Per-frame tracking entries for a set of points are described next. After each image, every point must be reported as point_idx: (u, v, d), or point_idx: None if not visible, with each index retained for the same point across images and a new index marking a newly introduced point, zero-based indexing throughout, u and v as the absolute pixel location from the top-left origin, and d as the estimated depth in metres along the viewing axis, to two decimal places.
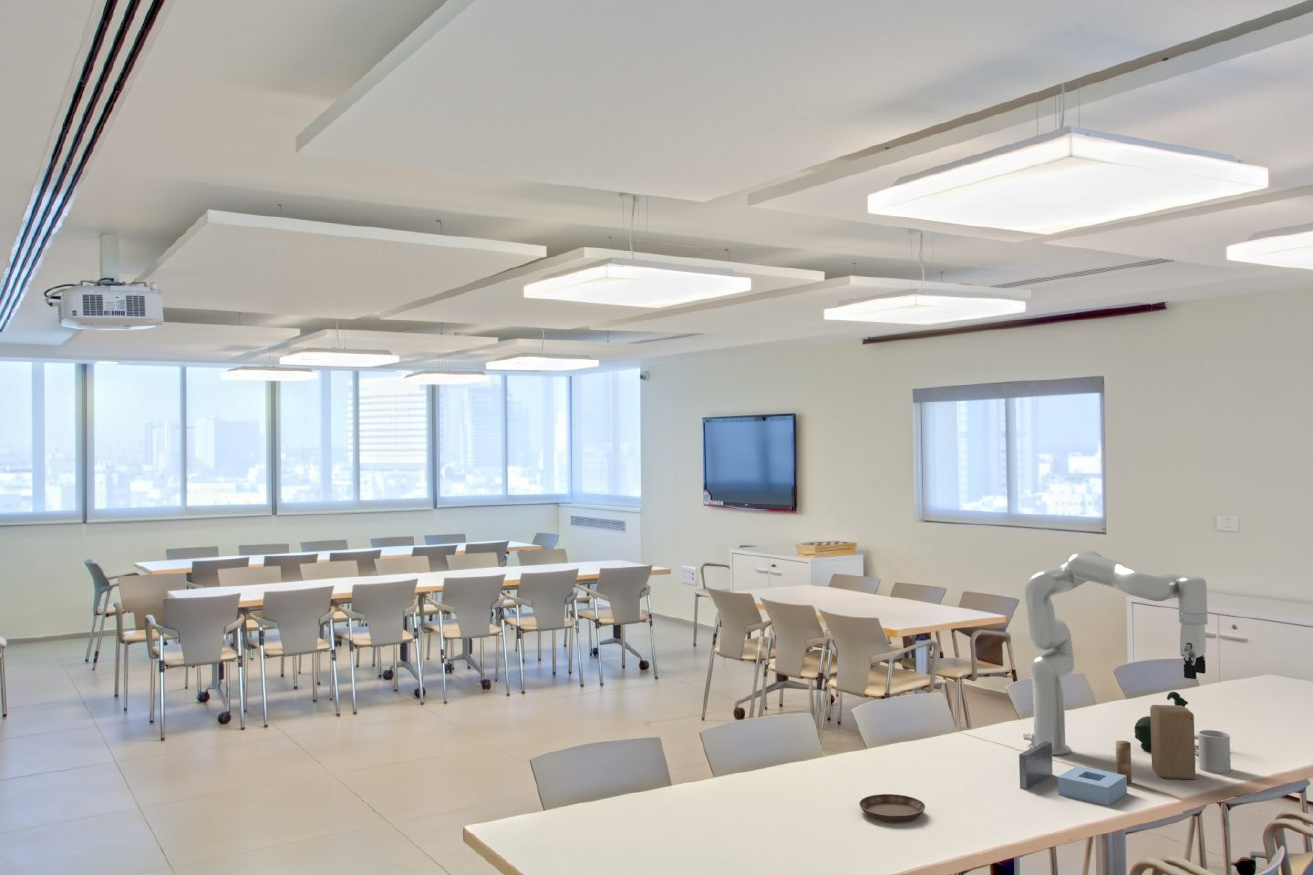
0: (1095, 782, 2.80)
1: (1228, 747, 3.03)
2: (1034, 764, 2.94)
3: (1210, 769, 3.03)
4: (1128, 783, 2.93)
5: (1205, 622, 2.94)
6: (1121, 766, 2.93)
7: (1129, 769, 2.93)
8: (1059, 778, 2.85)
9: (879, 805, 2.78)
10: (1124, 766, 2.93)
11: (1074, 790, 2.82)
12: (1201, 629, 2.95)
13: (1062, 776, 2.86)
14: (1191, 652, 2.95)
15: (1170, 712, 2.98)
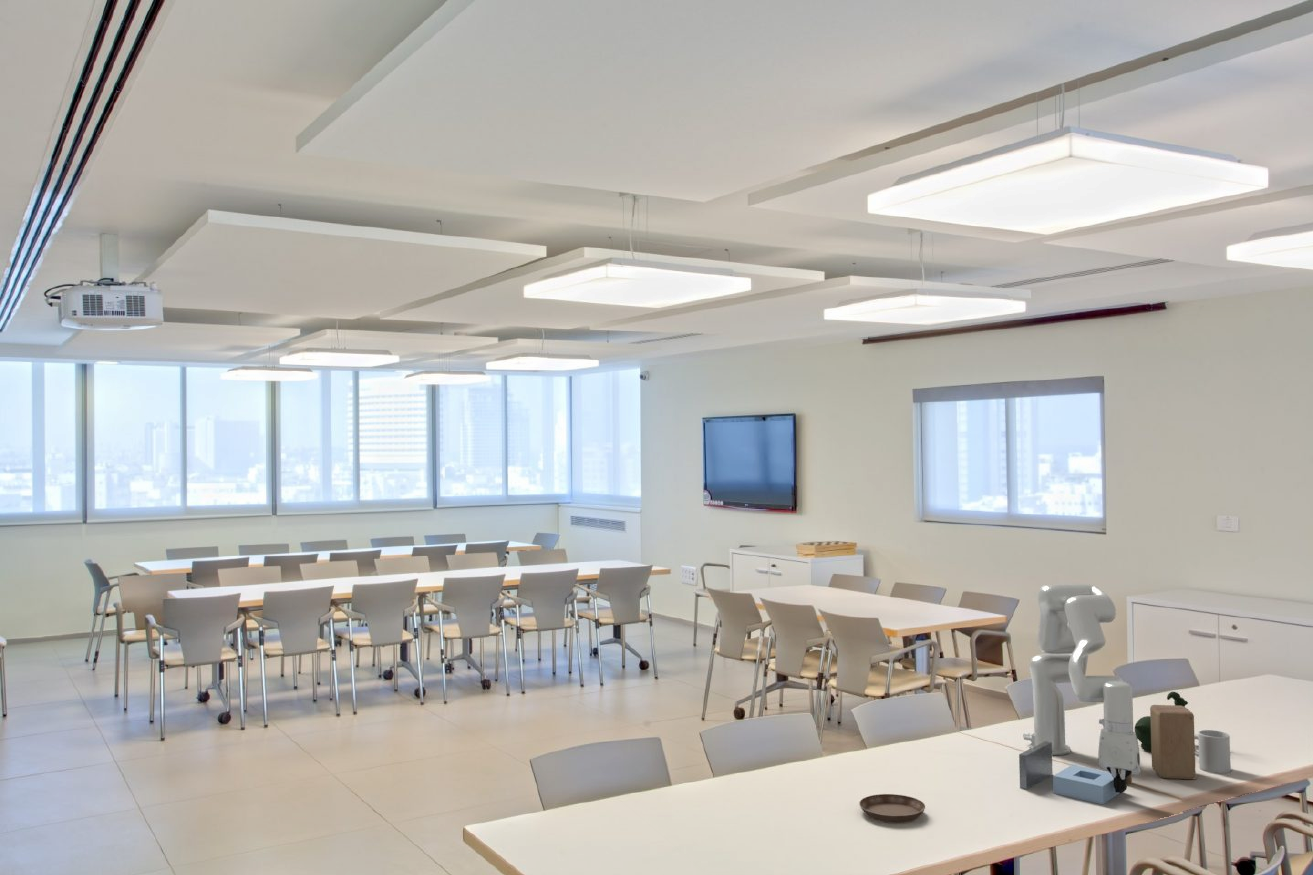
0: (1090, 781, 2.81)
1: (1228, 747, 3.03)
2: (1034, 764, 2.94)
3: (1210, 769, 3.03)
4: (1128, 783, 2.93)
5: None
6: None
7: None
8: (1054, 777, 2.86)
9: (879, 805, 2.78)
10: None
11: (1069, 789, 2.83)
12: None
13: (1057, 775, 2.87)
14: None
15: (1170, 712, 2.98)
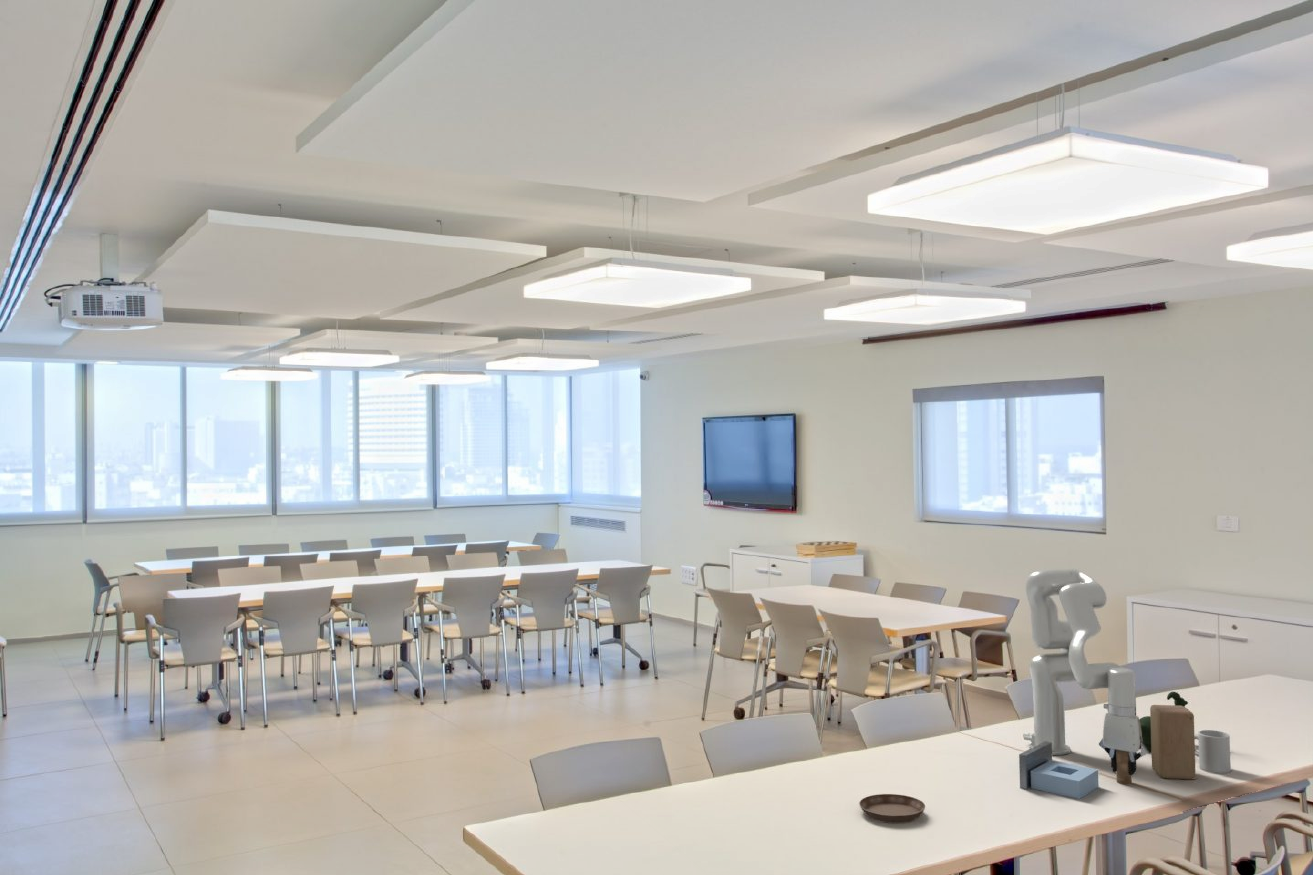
0: (1066, 776, 2.85)
1: (1228, 747, 3.03)
2: (1034, 764, 2.94)
3: (1210, 769, 3.03)
4: (1128, 783, 2.93)
5: None
6: (1121, 766, 2.93)
7: None
8: (1032, 772, 2.91)
9: (879, 805, 2.78)
10: (1124, 766, 2.93)
11: (1046, 784, 2.88)
12: None
13: (1035, 770, 2.91)
14: None
15: (1170, 712, 2.98)
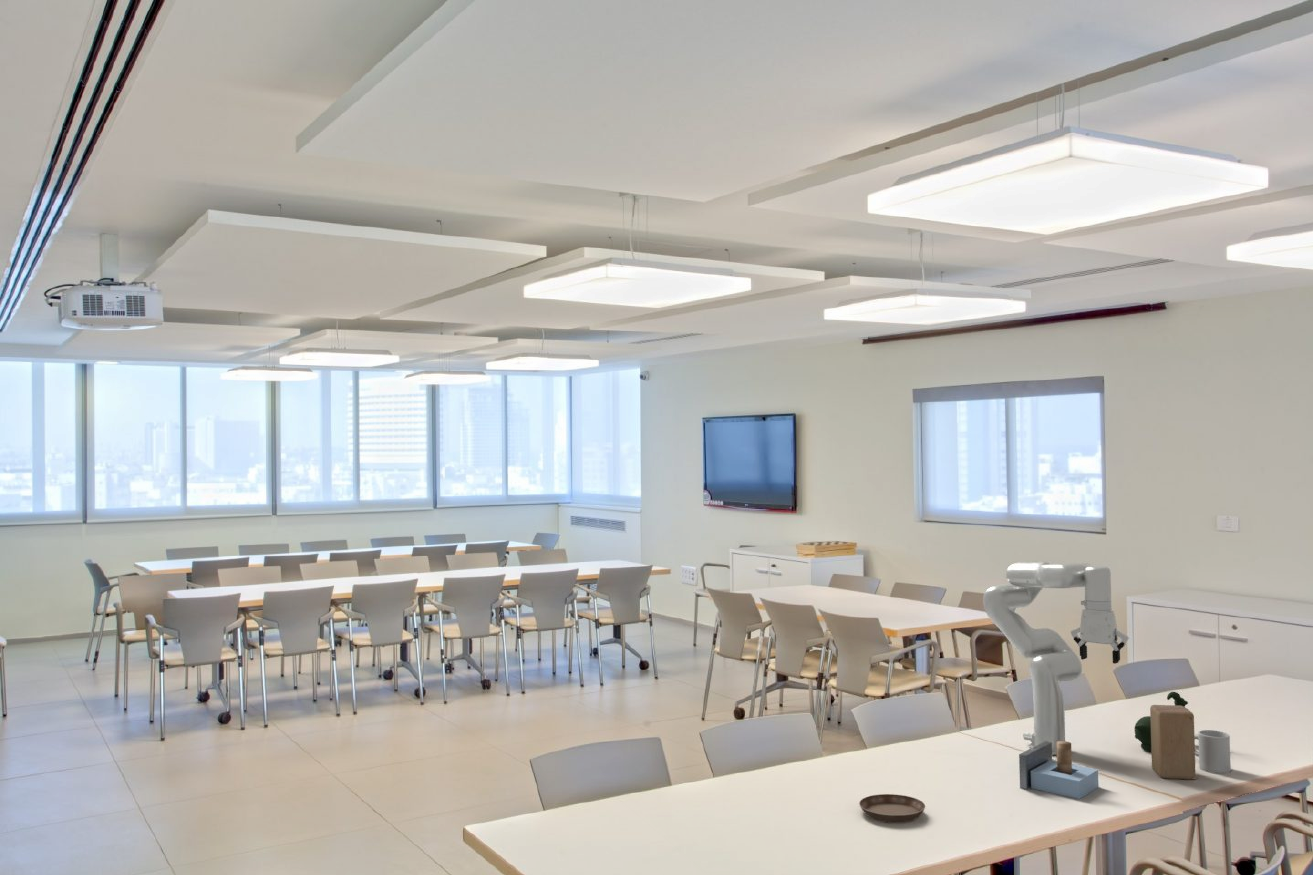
0: (1066, 776, 2.85)
1: (1228, 747, 3.03)
2: (1034, 764, 2.94)
3: (1210, 769, 3.03)
4: None
5: None
6: (1061, 766, 2.90)
7: (1069, 770, 2.89)
8: (1032, 772, 2.91)
9: (880, 805, 2.78)
10: (1065, 767, 2.89)
11: (1046, 784, 2.88)
12: None
13: (1035, 770, 2.91)
14: None
15: (1170, 712, 2.98)
